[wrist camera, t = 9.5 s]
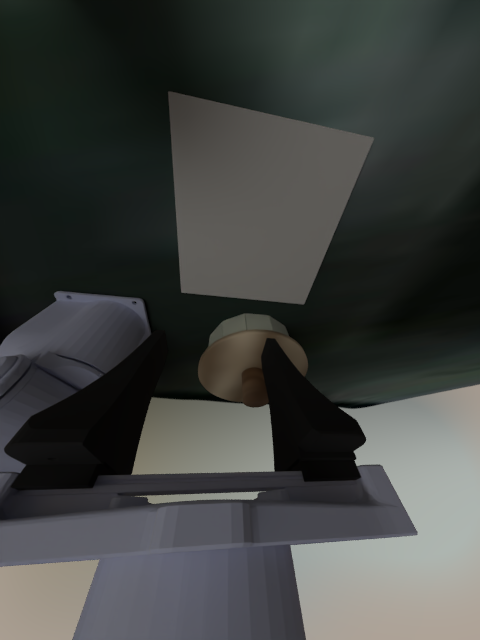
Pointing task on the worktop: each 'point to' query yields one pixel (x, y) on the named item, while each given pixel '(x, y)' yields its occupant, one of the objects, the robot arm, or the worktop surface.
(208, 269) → the mat
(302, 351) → the lid
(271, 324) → the bowl
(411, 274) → the worktop surface
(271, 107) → the worktop surface
